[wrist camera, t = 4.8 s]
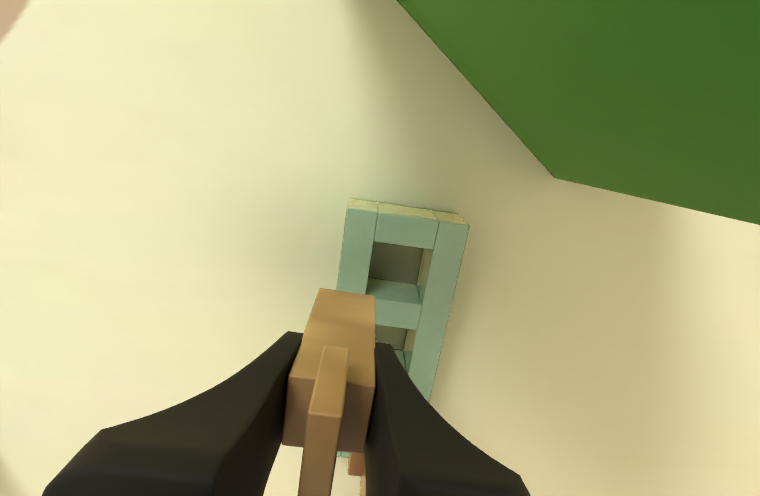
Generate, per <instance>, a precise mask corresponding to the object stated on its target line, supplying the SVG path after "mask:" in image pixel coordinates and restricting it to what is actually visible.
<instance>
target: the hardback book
mask: <svg viewBox="0 0 760 496" xmlns="http://www.w3.org/2000/svg"><path fill="white" fill-rule="evenodd" d="M397 1H398V2H399V3H400V4H401V5H402V6H403V8H404V9H405V10H406V11H407V12H408V13H409V14H410V15H411V17H412V18H413V19H414V20H415V21H416V22H417V23H418V24H419V26H420V27H421V28H422V29H423V30H424V31H425V32H426V33H427V35H428V36H429V37H430V38H431V39H432V40H433V41H434V42H435V44H436V45H437V46H438V47H439V48H440V49H441V50H442V51H443V53H444V54H445V55H446V56H447V57H448V58H449V59H450V61H451V62H452V63H453V64H454V65H455V66H456V67H457V68H458V70H459V71H460V72H461V73H462V74H463V75H464V76H465V77H466V79H467V80H468V81H469V82H470V83H471V84H472V85H473V86H474V88H475V89H476V90H477V91H478V92H479V93H480V94H481V95H482V97H483V98H484V99H485V100H486V101H487V102H488V103H489V104H490V106H491V107H492V108H493V109H494V110H495V111H496V112H497V113H498V115H499V116H500V117H501V118H502V119H503V120H504V121H505V122H506V124H507V125H508V126H509V127H510V128H511V129H512V130H513V131H514V133H515V134H516V135H517V136H518V137H519V138H520V139H521V140H522V142H523V143H524V144H525V145H526V146H527V147H528V148H529V149H530V151H531V152H532V153H533V154H534V155H535V156H536V157H537V158H538V160H539V161H540V162H541V163H542V164H543V165H544V166H545V167H546V169H547V170H548V171H549V172H550V173H551V174H552V175H553V176H554V178H558V179H562V180H567V181H571V182H575V183H580V184H584V185H589V186H593V187H597V188H602V189H606V190H610V191H615V192H619V193H623V194H628V195H632V196H636V197H641V198H645V199H649V200H654V201H658V202H663V203H667V204H671V205H676V206H680V207H684V208H689V209H693V210H697V211H702V212H706V213H710V214H715V215H719V216H724V217H728V218H732V219H737V220H741V221H745V222H750V223H754V224H758V225H760V0H397Z"/></svg>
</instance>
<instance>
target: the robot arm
mask: <svg viewBox="0 0 760 496" xmlns="http://www.w3.org/2000/svg"><path fill="white" fill-rule="evenodd" d="M302 336H303V333H297V332H290V331H288V332H286V333H285V334H284V335H283V336H282V337H281V338H279V339H278V340H277V341H276V342H275V343H274V344H273V345H272V346H271V347H269V348H268V349H267V350H266V351H265V352H263V353H262V354H261V355H260V356H259V357H257V358H256V359H255V360H254V361H252V362H251V363H250V364H248V365H247V366H246V367H244V368H243V369H241V370H240V371H239V372H237V373H236V374H234V375H233V376H231V377H230V378H228V379H227V380H225V381H223V382H222V383H220V384H218V385H216V386H215V387H213V388H211V389H209V390H207V391H205V392H203V393H201V394H199V395H197V396H195V397H193V398H191V399H189V400H187V401H184V402H182V403H180V404H177V405H175V406H173V407H170V408H168V409H165V410H162V411H160V412H157V413H154V414H152V415H149V416H146V417H143V418H140V419H136V420H133V421H130V422H126V423H123V424H120V425H116V426H113V427H110V428H106V429H102V430H100V431H99V432H98V433H97V434H96V435H95V436H94V437H93V438H92V439H91V440H90V441H89V442H88V443H87V444H86V445H85V446H84V447H83V448H82V449H81V450H80V451H79V452H78V453H77V454H76V455H75V456H74V457H73V458H72V460H71V461H70V462H69V463H68V464H67V465H66V466H65V467H64V468H63V469H62V470H61V471H60V472H59V474H58V475H57V476H56V477H55V478H54V479H53V480H52V481H51V482H50V483H49V484H48V485H47V487H46V488H45V490H44V492H43V494H42V496H263V494H264V490H265V487H266V483H267V480H268V477H269V474H270V471H271V468H272V466H273V463H274V460H275V458H276V455H277V453H278V450H279V447H280V445H281V442H282V435H283V424H284V414H285V404H286V394H287V384H288V375H289V373H290V370H291V367H292V364H293V361H294V359H295V356H296V353H297V351H298V348H299V346H300V344H301V342H302ZM374 357H375V366H376V388H375V393H374V399H373V404H372V410H371V415H370V421H369V426H368V432H367V438H366V443H365V449H364V456H365V478H366V496H530V494H529V492H528V490H527V488H526V486H525V484H524V483H523V481H522V479H521V477H520V475H518V474H517V473H515V472H514V471H512V470H510V469H509V468H507V467H506V466H504V465H502V464H501V463H499V462H498V461H496V460H494V459H493V458H491V457H490V456H488V455H487V454H485V453H484V452H483V451H481V450H480V449H479V448H477V447H476V446H475V445H473V444H472V443H471V442H469V441H468V440H467V439H466V438H464V437H463V436H462V435H461V434H460V433H459V432H457V431H456V430H455V429H454V428H453V427H452V426H451V425H450V424H448V423H447V422H446V421H445V420H444V419H443V418H442V417H441V416H440V415H439V414H438V412H437V411H436V410H435V409H434V408H433V407H432V406H431V405H430V404H429V403H428V401H427V400H426V399H425V398H424V397H423V395H422V394H421V393H420V391H419V390H418V389H417V387H416V386H415V384H414V383H413V381H412V380H411V378H410V377H409V375H408V374H407V372H406V371H405V369H404V367H403V366H402V364H401V362H400V361H399V359H398V357H397V355H396V353H395V351H394V349H393V348H392V346H391V345H390V344H382V343H375V349H374Z"/></svg>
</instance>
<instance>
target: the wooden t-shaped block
mask: <svg viewBox="0 0 760 496" xmlns="http://www.w3.org/2000/svg"><path fill="white" fill-rule="evenodd" d="M374 349H375V296H373V295H365V294H358V293H351V292H344V291H336V290H329V289H322V288H320V289H319V292H318V294H317V297H316V300H315V303H314V306H313V308H312V311H311V314H310V317H309V320H308V322H307V325H306V328H305V331H304V333H303V336H302V342H301V344H300V346H299V348H298V351H297V353H296V356H295V359H294V361H293V364H292V367H291V370H290V373H289V375H288V384H287V394H286V404H285V414H284V424H283V435H282V445H286V446H295V447H304V448H303V456H302V464H301V472H300V481H299V489H298V496H330V495H331V489H332V482H333V476H334V469H335V463H336V456H337V451H340V452H349V453H358V454H363V452H364V449H365V443H366V438H367V432H368V426H369V421H370V415H371V410H372V404H373V399H374V393H375V388H376V366H375V357H374Z"/></svg>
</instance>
